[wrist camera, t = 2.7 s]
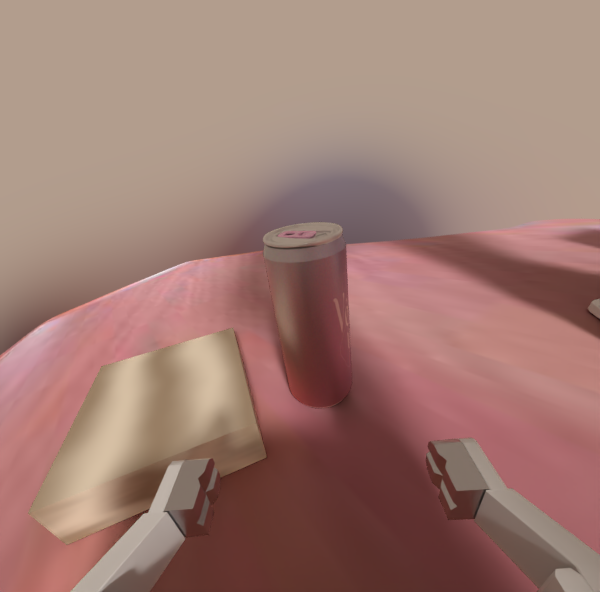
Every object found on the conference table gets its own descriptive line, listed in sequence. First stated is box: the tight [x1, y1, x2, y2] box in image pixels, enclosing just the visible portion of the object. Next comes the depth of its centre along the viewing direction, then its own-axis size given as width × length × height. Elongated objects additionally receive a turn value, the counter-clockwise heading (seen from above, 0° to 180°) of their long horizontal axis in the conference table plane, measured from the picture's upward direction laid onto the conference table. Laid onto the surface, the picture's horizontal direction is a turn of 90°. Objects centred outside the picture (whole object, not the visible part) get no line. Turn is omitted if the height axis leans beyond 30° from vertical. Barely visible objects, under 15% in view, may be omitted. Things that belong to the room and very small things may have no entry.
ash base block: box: [28, 328, 267, 545], centre depth 22 cm, size 13×13×4 cm
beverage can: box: [263, 222, 352, 408], centre depth 21 cm, size 6×6×15 cm
